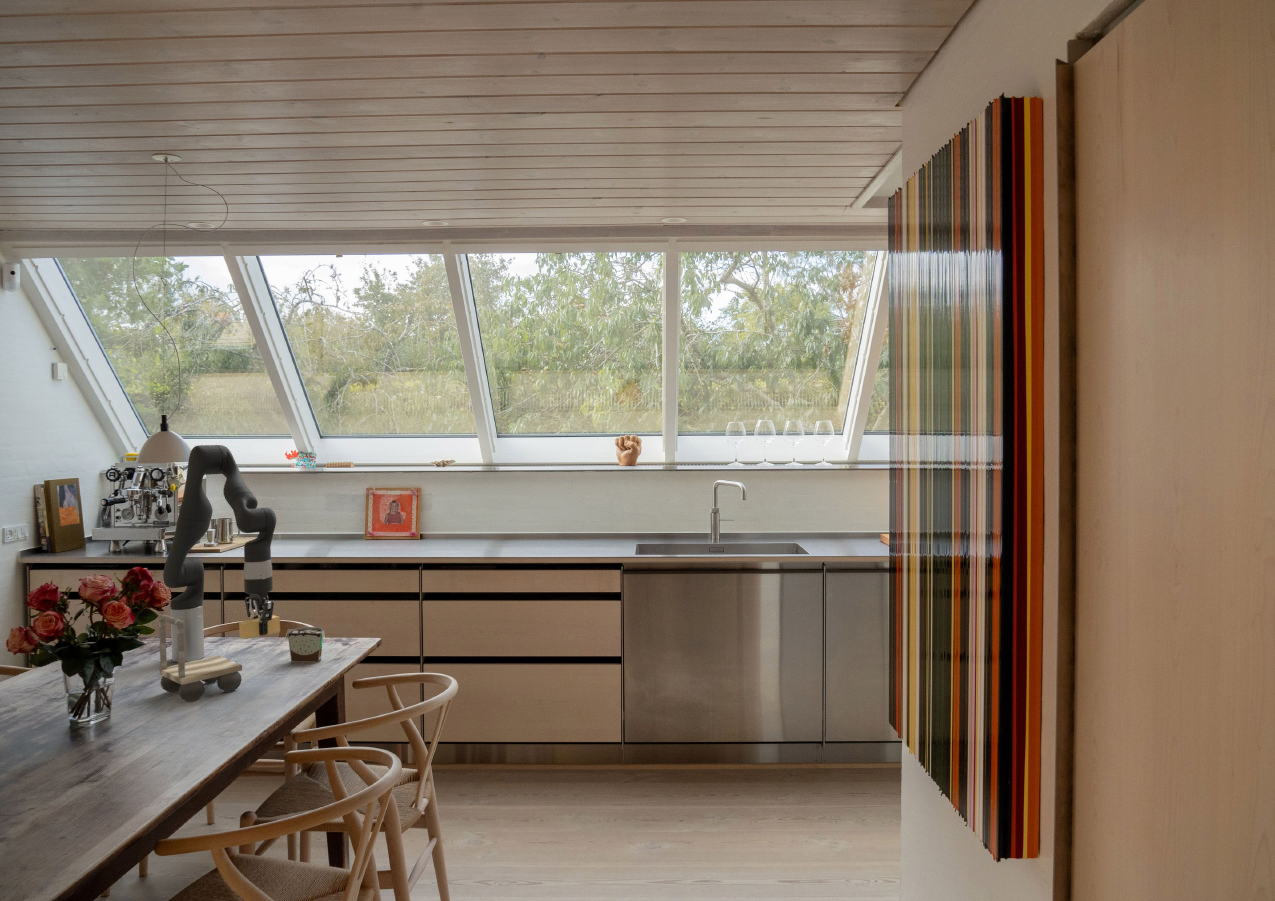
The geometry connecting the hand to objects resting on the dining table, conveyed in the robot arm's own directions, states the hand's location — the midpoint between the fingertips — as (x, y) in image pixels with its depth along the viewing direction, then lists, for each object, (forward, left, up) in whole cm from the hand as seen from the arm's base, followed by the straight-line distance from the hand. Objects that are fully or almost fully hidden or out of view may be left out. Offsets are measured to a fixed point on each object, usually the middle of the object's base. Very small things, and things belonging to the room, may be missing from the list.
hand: (260, 633), depth 229 cm
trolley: (-7, -14, -15) cm, 21 cm away
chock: (0, 0, 0) cm, 0 cm away
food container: (-12, +21, -15) cm, 28 cm away
